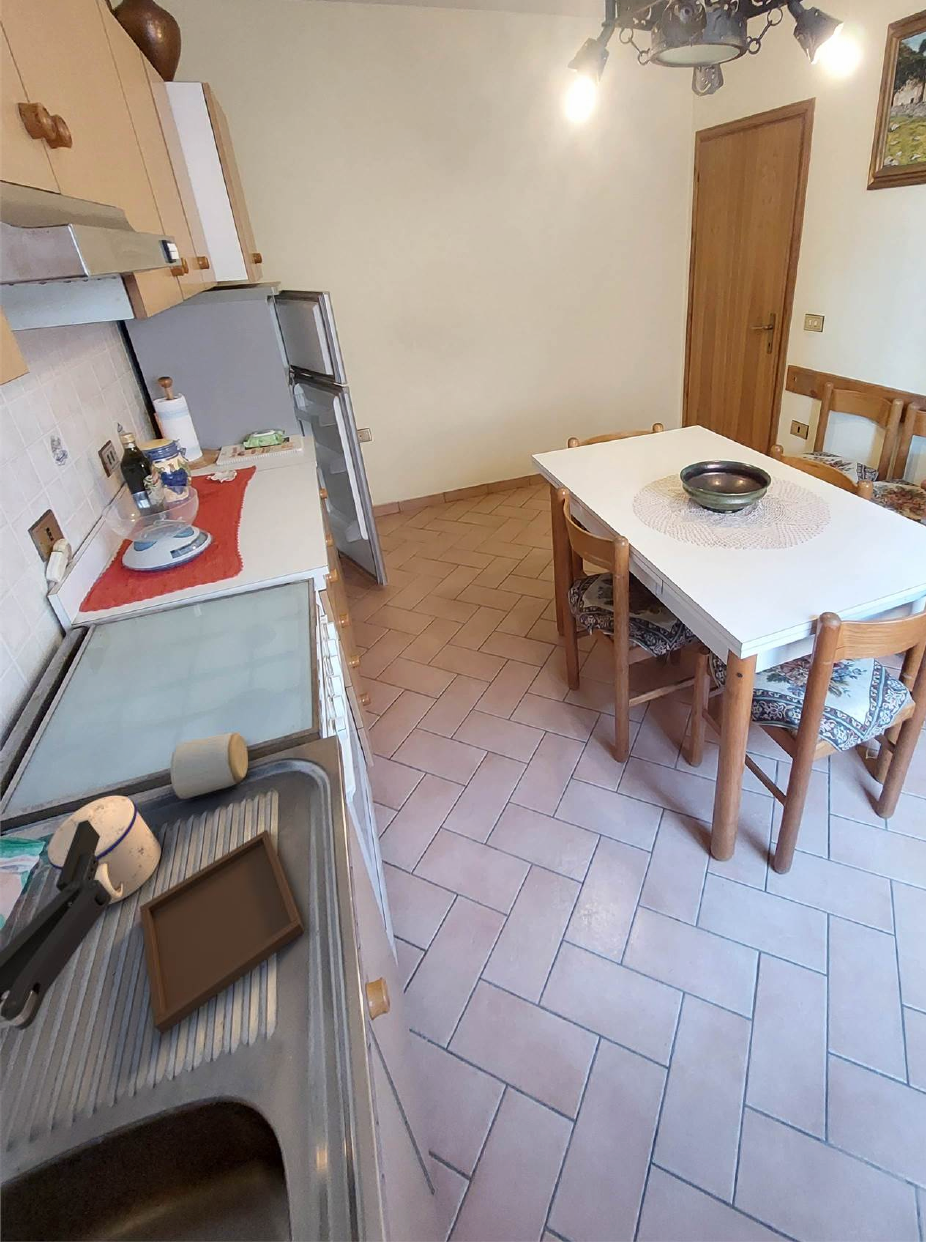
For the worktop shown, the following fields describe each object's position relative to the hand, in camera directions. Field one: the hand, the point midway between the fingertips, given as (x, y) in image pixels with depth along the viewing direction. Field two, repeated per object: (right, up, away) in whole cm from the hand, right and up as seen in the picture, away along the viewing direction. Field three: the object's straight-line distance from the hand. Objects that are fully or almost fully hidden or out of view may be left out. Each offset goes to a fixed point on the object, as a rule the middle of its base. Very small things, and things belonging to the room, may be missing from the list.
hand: (9, 857), depth 56 cm
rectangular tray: (+14, -15, +12) cm, 24 cm away
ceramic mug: (+3, -6, +31) cm, 31 cm away
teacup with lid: (-2, -14, +18) cm, 22 cm away
